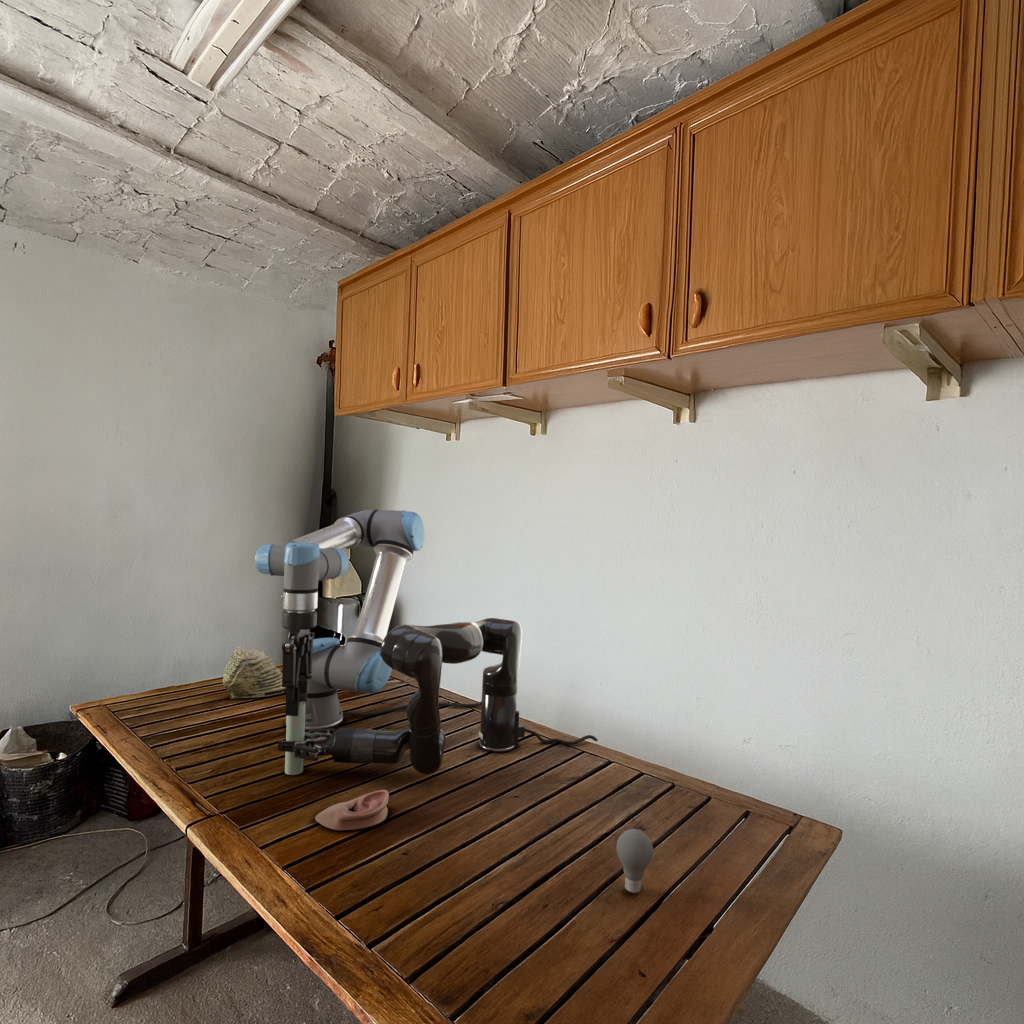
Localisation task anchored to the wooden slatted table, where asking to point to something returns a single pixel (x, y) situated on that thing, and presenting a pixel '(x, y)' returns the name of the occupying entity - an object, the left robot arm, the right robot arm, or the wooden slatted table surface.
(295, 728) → the pale green cylinder
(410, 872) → the wooden slatted table surface
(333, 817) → the anatomical model
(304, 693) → the lid
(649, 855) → the light bulb
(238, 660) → the fossil
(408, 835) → the wooden slatted table surface
